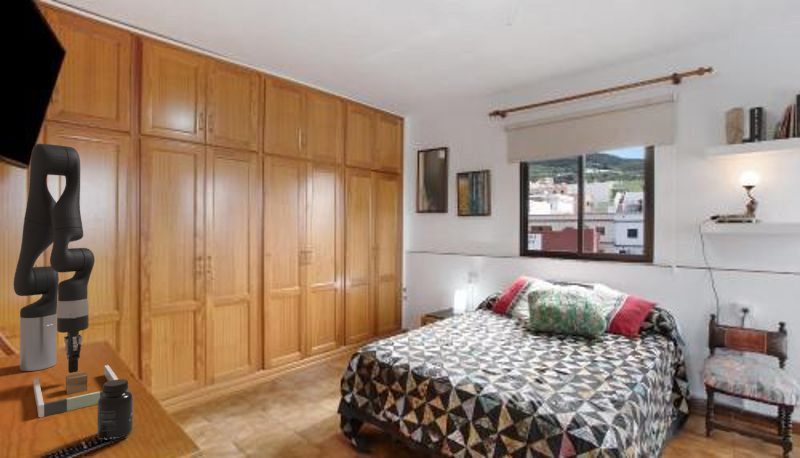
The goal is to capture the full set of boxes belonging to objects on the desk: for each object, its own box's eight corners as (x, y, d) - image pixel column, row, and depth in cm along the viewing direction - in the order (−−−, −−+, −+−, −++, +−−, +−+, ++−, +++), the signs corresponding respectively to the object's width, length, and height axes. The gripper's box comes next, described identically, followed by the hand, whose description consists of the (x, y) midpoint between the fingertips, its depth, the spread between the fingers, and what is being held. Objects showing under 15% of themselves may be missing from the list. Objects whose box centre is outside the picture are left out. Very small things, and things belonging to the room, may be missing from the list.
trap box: (33, 388, 122) (33, 378, 122) (108, 374, 135) (108, 364, 134) (38, 417, 105) (38, 405, 105) (123, 397, 117) (124, 387, 117)
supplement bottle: (139, 431, 99) (139, 380, 99) (109, 444, 93) (109, 390, 93) (121, 424, 102) (121, 375, 102) (90, 437, 96) (90, 385, 96)
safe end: (66, 409, 109) (66, 398, 109) (99, 402, 114) (99, 391, 114) (66, 411, 108) (66, 399, 108) (99, 403, 113) (100, 392, 113)
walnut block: (65, 390, 122) (65, 374, 122) (85, 386, 125) (85, 371, 125) (67, 395, 119) (67, 379, 119) (87, 390, 122) (87, 375, 122)
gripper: (55, 312, 129) (55, 369, 129) (58, 319, 120) (59, 380, 120) (85, 309, 134) (85, 363, 135) (91, 316, 125) (91, 374, 125)
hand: (73, 371), depth 127 cm, fingers closed
